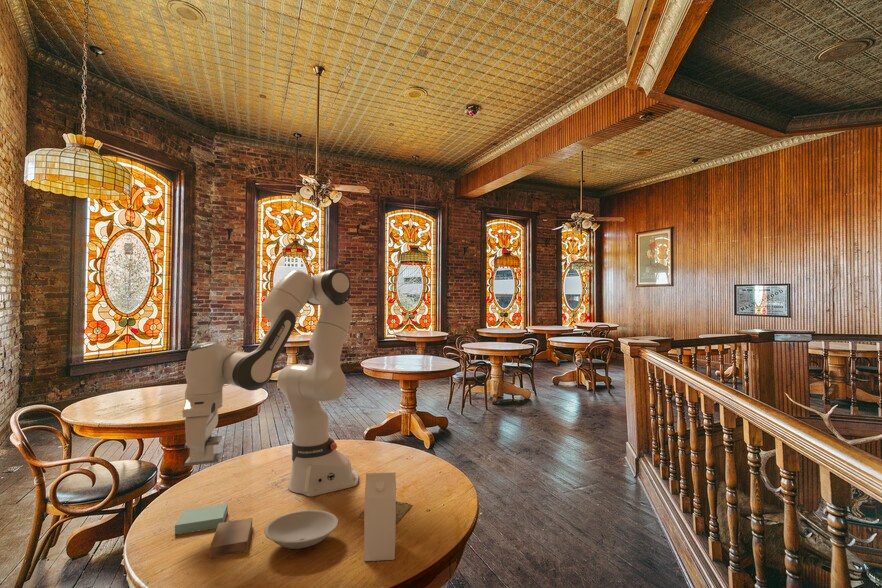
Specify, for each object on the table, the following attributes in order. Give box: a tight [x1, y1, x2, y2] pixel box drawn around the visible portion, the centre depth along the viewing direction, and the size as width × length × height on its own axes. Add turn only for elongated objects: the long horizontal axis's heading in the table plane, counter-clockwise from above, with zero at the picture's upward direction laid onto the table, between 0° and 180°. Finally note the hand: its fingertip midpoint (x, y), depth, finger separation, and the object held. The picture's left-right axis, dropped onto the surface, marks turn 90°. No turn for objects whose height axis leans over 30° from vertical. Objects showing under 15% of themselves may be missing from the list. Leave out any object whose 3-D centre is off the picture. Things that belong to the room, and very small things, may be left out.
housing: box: [183, 435, 223, 467], centre depth 111 cm, size 5×8×6 cm, turn 109°
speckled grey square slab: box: [357, 500, 414, 525], centre depth 117 cm, size 12×12×1 cm
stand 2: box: [209, 517, 253, 559], centre depth 102 cm, size 8×11×2 cm
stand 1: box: [174, 503, 229, 535], centre depth 110 cm, size 11×8×2 cm
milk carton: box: [363, 472, 397, 562], centre depth 98 cm, size 7×7×19 cm
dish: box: [263, 509, 339, 550], centre depth 101 cm, size 18×14×5 cm
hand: (203, 452), depth 111 cm, fingers closed on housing, 5 cm apart
